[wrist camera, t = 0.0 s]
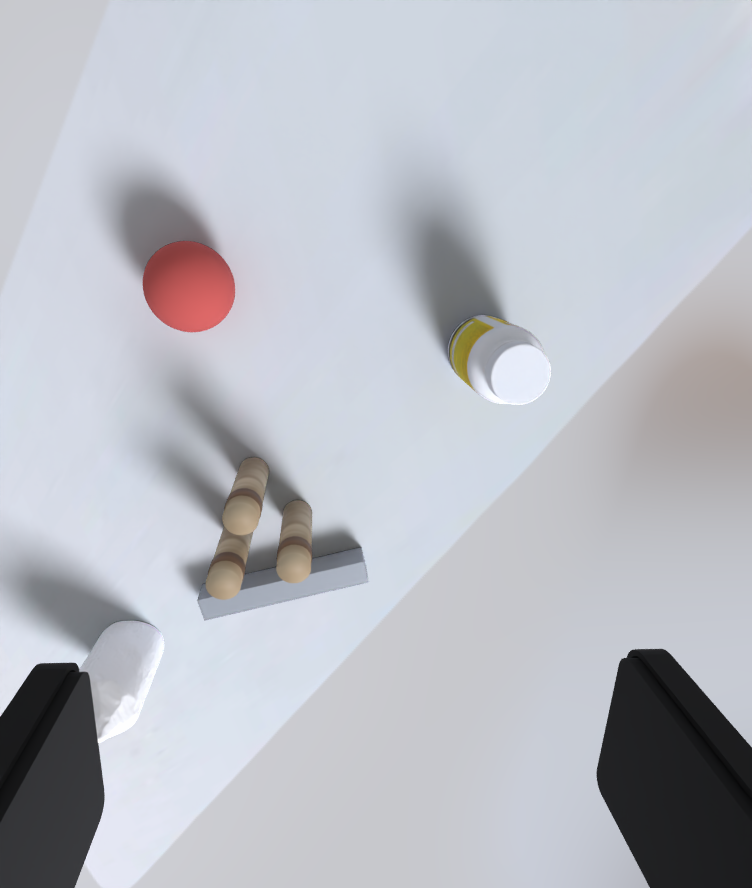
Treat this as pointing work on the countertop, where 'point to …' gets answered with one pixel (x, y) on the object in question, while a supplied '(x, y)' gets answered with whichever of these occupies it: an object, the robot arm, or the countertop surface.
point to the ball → (188, 286)
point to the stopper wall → (288, 584)
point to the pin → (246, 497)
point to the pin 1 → (228, 565)
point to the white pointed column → (122, 674)
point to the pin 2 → (295, 543)
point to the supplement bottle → (499, 360)
